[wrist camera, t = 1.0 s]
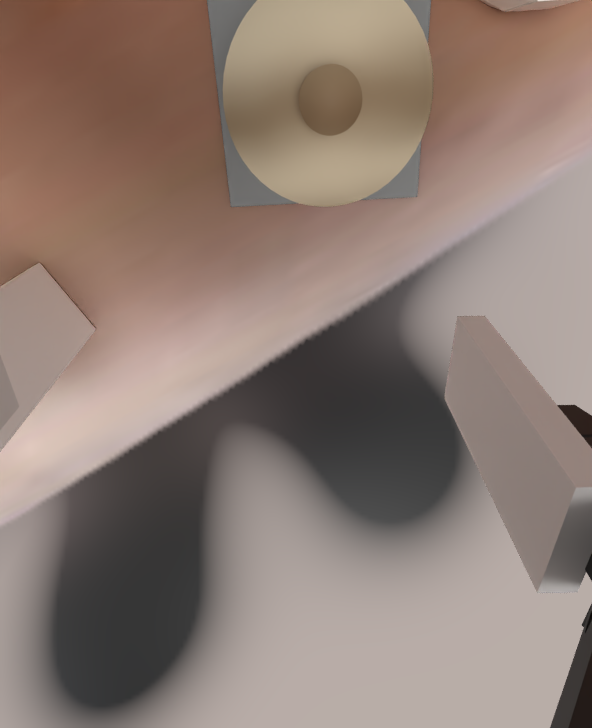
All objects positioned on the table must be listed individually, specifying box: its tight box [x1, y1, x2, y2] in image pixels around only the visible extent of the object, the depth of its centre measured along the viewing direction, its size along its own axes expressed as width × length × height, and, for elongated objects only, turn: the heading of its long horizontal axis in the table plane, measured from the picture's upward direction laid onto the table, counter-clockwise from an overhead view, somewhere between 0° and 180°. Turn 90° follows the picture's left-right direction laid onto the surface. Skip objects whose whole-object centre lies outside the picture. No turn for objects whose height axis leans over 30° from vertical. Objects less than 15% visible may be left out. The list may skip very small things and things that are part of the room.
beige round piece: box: [223, 0, 433, 207], centre depth 25 cm, size 10×10×8 cm
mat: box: [207, 0, 431, 207], centre depth 29 cm, size 12×12×1 cm
